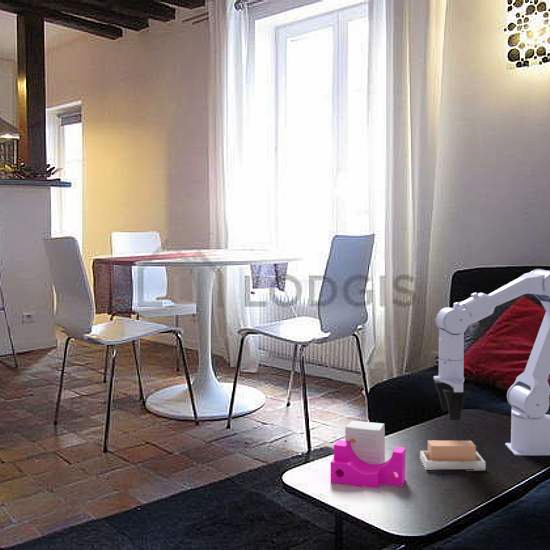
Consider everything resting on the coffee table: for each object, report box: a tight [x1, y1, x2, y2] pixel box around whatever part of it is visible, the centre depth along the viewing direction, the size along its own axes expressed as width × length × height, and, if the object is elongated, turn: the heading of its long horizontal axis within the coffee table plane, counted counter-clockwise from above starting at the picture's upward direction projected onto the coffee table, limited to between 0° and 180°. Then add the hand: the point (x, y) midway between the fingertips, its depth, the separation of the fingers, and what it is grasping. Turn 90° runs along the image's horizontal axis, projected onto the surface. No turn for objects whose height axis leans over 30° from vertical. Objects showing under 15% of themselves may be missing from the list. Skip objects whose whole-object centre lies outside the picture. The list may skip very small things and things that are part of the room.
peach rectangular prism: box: [427, 439, 477, 461], centre depth 147 cm, size 4×10×5 cm, turn 88°
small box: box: [344, 420, 386, 464], centre depth 145 cm, size 8×6×10 cm
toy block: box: [330, 439, 406, 489], centre depth 139 cm, size 15×6×8 cm, turn 69°
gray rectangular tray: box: [419, 450, 486, 471], centre depth 147 cm, size 13×7×2 cm, turn 88°
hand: (450, 415), depth 153 cm, fingers open, 7 cm apart
